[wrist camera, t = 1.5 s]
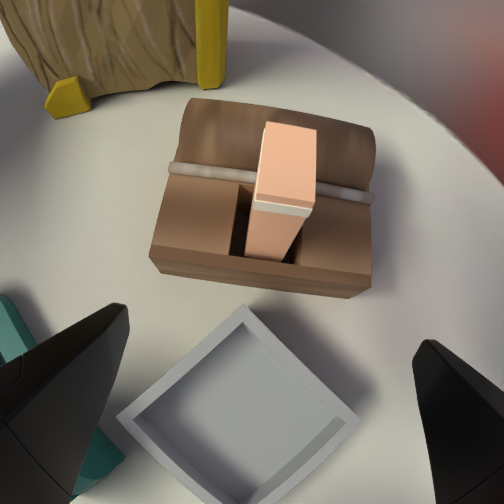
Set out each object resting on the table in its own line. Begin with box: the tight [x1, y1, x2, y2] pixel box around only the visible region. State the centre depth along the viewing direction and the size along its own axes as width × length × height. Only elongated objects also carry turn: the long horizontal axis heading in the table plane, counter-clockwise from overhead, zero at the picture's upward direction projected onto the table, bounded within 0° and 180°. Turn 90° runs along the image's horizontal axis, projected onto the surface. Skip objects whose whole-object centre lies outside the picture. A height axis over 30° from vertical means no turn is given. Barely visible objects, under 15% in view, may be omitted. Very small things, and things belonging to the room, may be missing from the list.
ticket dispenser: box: [149, 98, 376, 299], centre depth 21 cm, size 12×14×7 cm
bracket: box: [0, 295, 125, 502], centre depth 15 cm, size 18×7×8 cm, turn 45°
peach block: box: [244, 121, 316, 263], centre depth 18 cm, size 4×2×11 cm, turn 173°
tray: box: [116, 303, 362, 504], centre depth 18 cm, size 11×11×3 cm
